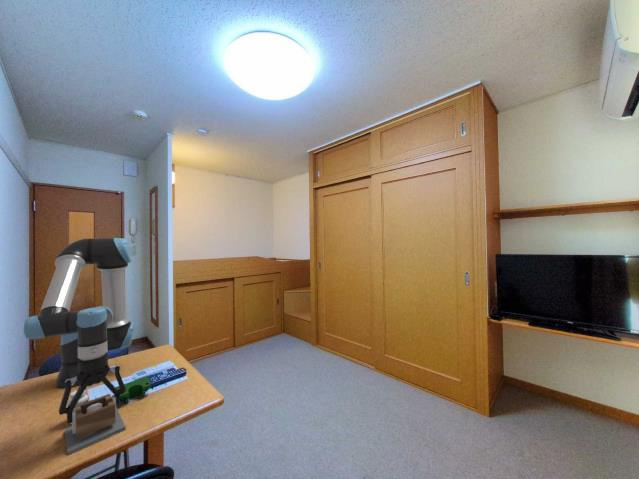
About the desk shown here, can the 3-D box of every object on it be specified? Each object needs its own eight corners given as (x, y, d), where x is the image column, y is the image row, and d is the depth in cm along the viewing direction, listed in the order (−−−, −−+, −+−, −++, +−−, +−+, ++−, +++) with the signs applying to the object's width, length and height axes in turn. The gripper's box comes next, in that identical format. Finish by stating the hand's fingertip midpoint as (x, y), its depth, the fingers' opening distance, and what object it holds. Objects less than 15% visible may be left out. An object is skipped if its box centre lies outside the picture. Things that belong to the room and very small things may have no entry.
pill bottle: (71, 426, 90) (70, 398, 90) (65, 421, 93) (64, 393, 93) (91, 417, 95) (90, 390, 95) (85, 412, 98) (84, 386, 98)
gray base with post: (64, 431, 88) (64, 407, 88) (117, 411, 98) (116, 389, 98) (67, 455, 78) (67, 428, 78) (125, 429, 89) (124, 405, 89)
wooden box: (74, 424, 88) (73, 406, 88) (110, 410, 95) (109, 393, 95) (77, 438, 82) (76, 419, 82) (115, 422, 89) (115, 404, 88)
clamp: (123, 414, 103) (113, 400, 99) (120, 404, 107) (109, 390, 103) (156, 391, 110) (147, 377, 106) (152, 383, 114) (143, 369, 110)
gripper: (45, 372, 77) (47, 448, 78) (135, 348, 94) (137, 411, 94) (45, 364, 83) (47, 435, 83) (130, 342, 99) (132, 402, 99)
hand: (95, 422), depth 88 cm, fingers closed on wooden box, 9 cm apart
